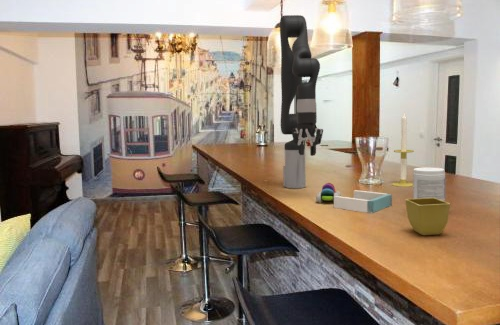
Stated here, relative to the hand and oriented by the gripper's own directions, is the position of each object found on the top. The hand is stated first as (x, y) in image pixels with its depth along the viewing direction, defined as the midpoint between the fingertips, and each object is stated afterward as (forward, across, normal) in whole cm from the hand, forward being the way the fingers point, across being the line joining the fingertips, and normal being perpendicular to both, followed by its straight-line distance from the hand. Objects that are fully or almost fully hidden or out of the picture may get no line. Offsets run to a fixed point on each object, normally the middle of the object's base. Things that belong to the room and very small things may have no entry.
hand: (307, 154), depth 168 cm
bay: (+17, +24, 0) cm, 30 cm away
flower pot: (+18, +54, -19) cm, 60 cm away
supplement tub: (+18, +46, +3) cm, 49 cm away
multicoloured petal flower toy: (+18, +10, 0) cm, 20 cm away
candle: (+18, +17, +49) cm, 55 cm away
